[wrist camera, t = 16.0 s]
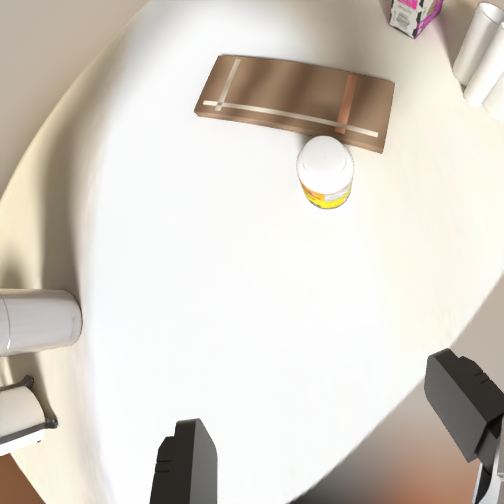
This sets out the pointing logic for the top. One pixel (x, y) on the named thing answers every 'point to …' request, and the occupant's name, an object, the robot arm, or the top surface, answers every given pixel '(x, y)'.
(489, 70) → the vase
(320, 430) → the top surface
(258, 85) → the walnut board
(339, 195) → the supplement bottle
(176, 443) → the robot arm
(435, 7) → the candy bar box
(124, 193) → the top surface
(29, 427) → the coffee press
